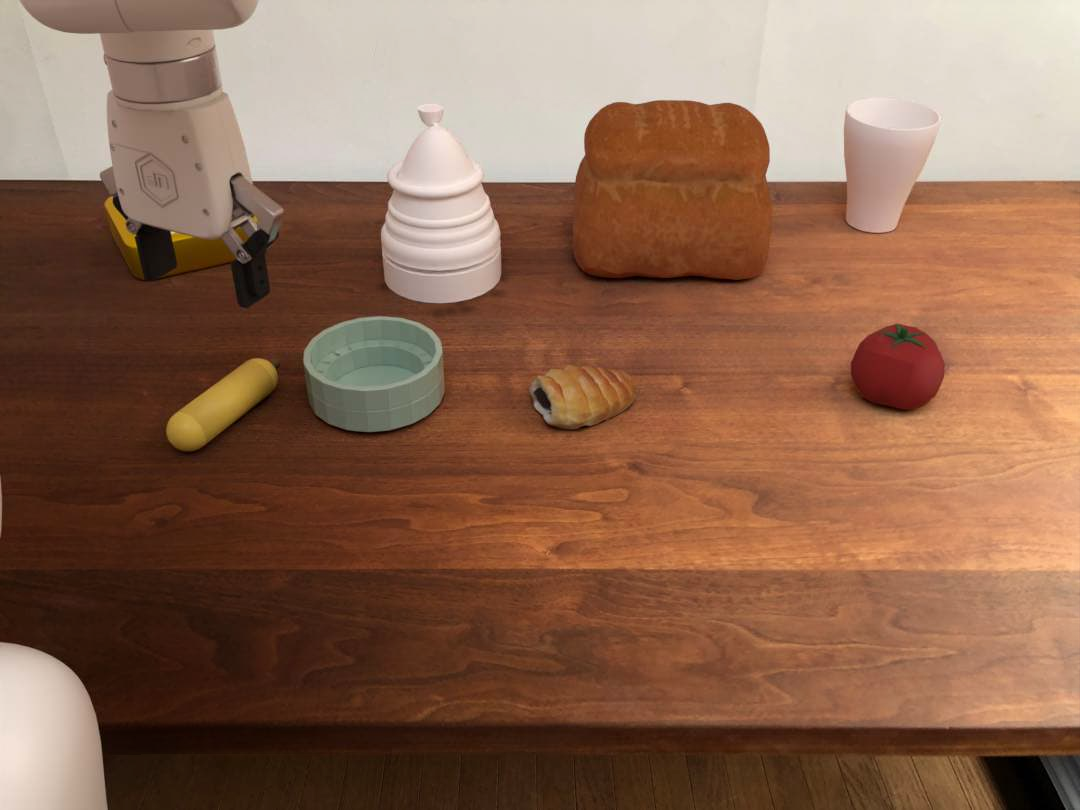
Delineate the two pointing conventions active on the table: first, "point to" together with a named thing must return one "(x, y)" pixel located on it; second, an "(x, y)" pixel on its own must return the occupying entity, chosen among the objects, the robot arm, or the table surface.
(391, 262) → the honey pot
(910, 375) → the tomato
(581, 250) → the bread
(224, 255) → the element tile
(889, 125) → the cup
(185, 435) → the yellow gas cartridge
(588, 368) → the pastry
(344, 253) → the table surface
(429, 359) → the bowl
